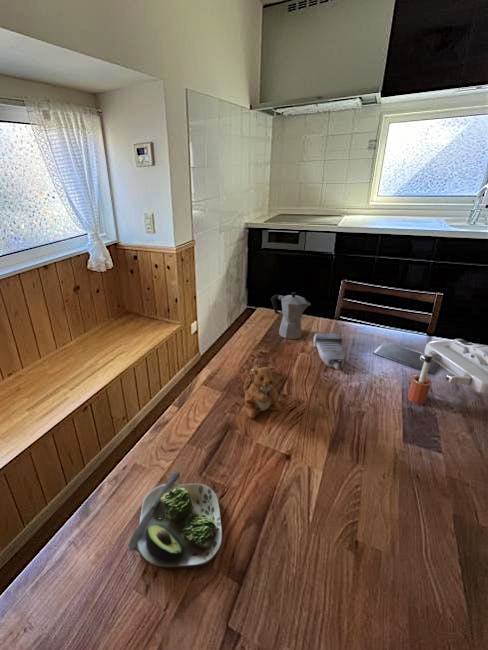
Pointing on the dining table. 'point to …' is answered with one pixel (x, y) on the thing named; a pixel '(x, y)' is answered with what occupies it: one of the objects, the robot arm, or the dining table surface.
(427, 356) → the stylus
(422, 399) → the pen cup
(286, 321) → the coffeepot
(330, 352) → the handheld device
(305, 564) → the dining table surface
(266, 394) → the stuffed squirrel
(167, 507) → the salad plate
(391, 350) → the tablet
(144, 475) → the dining table surface
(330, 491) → the dining table surface
